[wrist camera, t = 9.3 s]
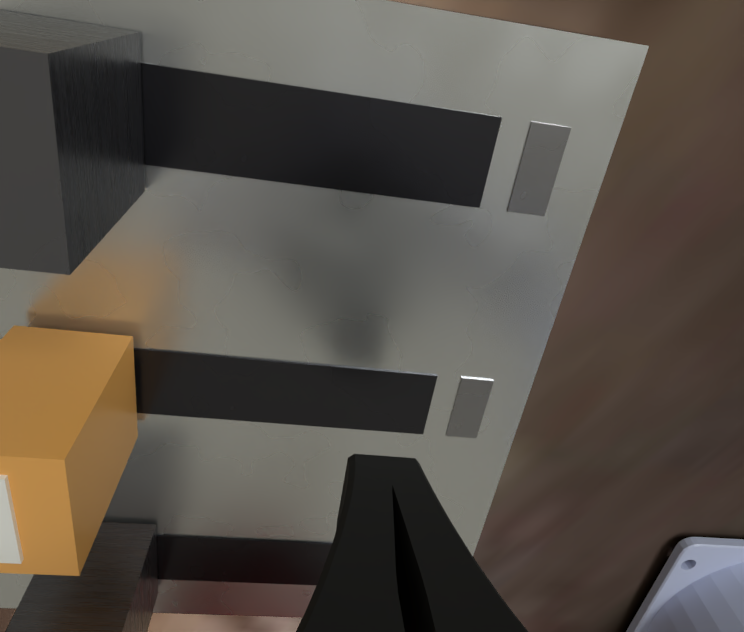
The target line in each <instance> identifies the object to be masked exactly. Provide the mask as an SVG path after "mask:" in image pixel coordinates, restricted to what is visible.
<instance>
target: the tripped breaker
mask: <svg viewBox="0 0 744 632" xmlns="http://www.w3.org/2000/svg"><path fill="white" fill-rule="evenodd" d="M137 438H138V428H137V407H136V387H135V366H134V346H133V336H125V335H114V334H103V333H92V332H81V331H70V330H59V329H48V328H37V327H26V326H15V325H14V326H13V327H12V328H11V329H10V330H9V331H8V332H7V333H6V335H5V336H4V337H3V338H2V339H1V340H0V573H14V574H40V575H66V576H80V573H81V571H82V569H83V566H84V564H85V562H86V559H87V557H88V554H89V552H90V550H91V547H92V545H93V542H94V540H95V538H96V535H97V533H98V531H99V528H100V526H101V523H102V521H103V519H104V516H105V514H106V511H107V509H108V507H109V504H110V502H111V500H112V497H113V495H114V492H115V490H116V488H117V485H118V483H119V480H120V478H121V476H122V473H123V471H124V469H125V466H126V464H127V461H128V459H129V457H130V454H131V452H132V449H133V447H134V445H135V442H136V440H137Z"/></svg>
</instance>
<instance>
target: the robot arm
mask: <svg viewBox="0 0 744 632" xmlns="http://www.w3.org/2000/svg"><path fill="white" fill-rule="evenodd" d="M296 632H528V631H527V630H526V628H525V627H524V626H523V625H522V624H521V622H520V621H519V620H518V619H517V617H516V616H515V615H514V613H513V612H512V611H511V610H510V608H509V607H508V606H507V604H506V603H505V602H504V600H503V599H502V598H501V596H500V595H499V594H498V592H497V591H496V589H495V588H494V587H493V585H492V584H491V582H490V581H489V579H488V578H487V577H486V575H485V574H484V572H483V571H482V569H481V568H480V567H479V565H478V564H477V562H476V561H475V559H474V557H473V556H472V554H471V553H470V551H469V550H468V548H467V547H466V545H465V543H464V542H463V540H462V539H461V537H460V535H459V534H458V532H457V531H456V529H455V527H454V526H453V524H452V522H451V521H450V519H449V517H448V516H447V514H446V512H445V510H444V509H443V507H442V505H441V503H440V502H439V500H438V498H437V496H436V494H435V493H434V491H433V489H432V487H431V485H430V483H429V481H428V479H427V477H426V475H425V474H424V472H423V470H422V468H421V466H420V463H419V462H418V461H417V460H416V459H415V458H406V457H393V456H379V455H365V454H353V455H352V456H350V457H348V460H347V466H346V472H345V477H344V483H343V489H342V495H341V501H340V507H339V512H338V518H337V527H336V533H335V537H334V540H333V543H332V546H331V548H330V551H329V554H328V557H327V559H326V562H325V565H324V567H323V570H322V573H321V576H320V578H319V581H318V583H317V586H316V588H315V590H314V593H313V595H312V598H311V600H310V602H309V605H308V607H307V609H306V611H305V613H304V616H303V618H302V620H301V622H300V624H299V627H298V629H297V631H296ZM626 632H744V539H728V538H709V537H687V538H684V539H682V540H681V541H679V542H678V543H677V545H676V546H675V548H674V550H673V551H672V553H671V555H670V557H669V558H668V560H667V562H666V563H665V565H664V567H663V569H662V570H661V572H660V574H659V576H658V577H657V579H656V581H655V582H654V584H653V586H652V588H651V589H650V591H649V593H648V594H647V596H646V598H645V600H644V601H643V603H642V605H641V607H640V608H639V610H638V612H637V613H636V615H635V617H634V619H633V620H632V622H631V624H630V625H629V627H628V629H627V631H626Z"/></svg>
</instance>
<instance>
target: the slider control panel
mask: <svg viewBox="0 0 744 632" xmlns="http://www.w3.org/2000/svg"><path fill="white" fill-rule="evenodd" d="M648 48H649V46H646V45H640V44H635V43H629V42H624V41H618V40H612V39H607V38H601V37H596V36H590V35H584V34H578V33H573V32H567V31H561V30H555V29H550V28H544V27H538V26H532V25H527V24H521V23H515V22H509V21H504V20H498V19H492V18H486V17H480V16H475V15H469V14H463V13H457V12H452V11H446V10H440V9H434V8H429V7H423V6H417V5H411V4H406V3H400V2H394V1H388V0H0V340H1V339H2V338H3V337H4V336H5V335H6V333H7V332H8V331H9V330H10V329H11V328H12V327H13V326H14V325H15V326H26V327H37V328H48V329H59V330H70V331H81V332H92V333H103V334H114V335H125V336H133V346H134V366H135V387H136V407H137V428H138V438H137V440H136V442H135V445H134V447H133V449H132V452H131V454H130V457H129V459H128V461H127V464H126V466H125V469H124V471H123V473H122V476H121V478H120V480H119V483H118V485H117V488H116V490H115V492H114V495H113V497H112V500H111V502H110V504H109V507H108V509H107V511H106V514H105V516H104V519H103V521H102V523H101V526H100V528H99V531H98V533H97V535H96V538H95V540H94V542H93V545H92V547H91V550H90V552H89V554H88V557H87V559H86V562H85V564H84V566H83V569H82V571H81V573H80V576H66V575H40V574H14V573H0V608H17V609H16V611H15V613H14V615H13V617H12V619H11V621H10V623H9V625H8V627H7V629H6V631H5V632H147V631H148V627H149V624H150V620H151V616H152V613H181V614H213V615H245V616H277V617H303V616H304V613H305V611H306V609H307V607H308V605H309V602H310V600H311V598H312V595H313V593H314V590H315V588H316V586H317V583H318V581H319V578H320V576H321V573H322V570H323V567H324V565H325V562H326V559H327V557H328V554H329V551H330V548H331V546H332V543H333V540H334V537H335V533H336V527H337V518H338V512H339V507H340V501H341V495H342V489H343V483H344V477H345V472H346V466H347V460H348V457H350V456H352V455H353V454H365V455H379V456H393V457H406V458H415V459H416V460H417V461H418V462H419V463H420V466H421V468H422V470H423V472H424V474H425V475H426V477H427V479H428V481H429V483H430V485H431V487H432V489H433V491H434V493H435V494H436V496H437V498H438V500H439V502H440V503H441V505H442V507H443V509H444V510H445V512H446V514H447V516H448V517H449V519H450V521H451V522H452V524H453V526H454V527H455V529H456V531H457V532H458V534H459V535H460V537H461V539H462V540H463V542H464V543H465V545H466V547H467V548H468V550H469V551H470V553H471V554H472V556H473V555H474V552H475V549H476V546H477V543H478V540H479V537H480V534H481V531H482V529H483V526H484V523H485V520H486V517H487V514H488V511H489V508H490V505H491V502H492V500H493V497H494V494H495V491H496V488H497V485H498V482H499V479H500V476H501V473H502V471H503V468H504V465H505V462H506V459H507V456H508V453H509V450H510V447H511V445H512V442H513V439H514V436H515V433H516V430H517V427H518V424H519V421H520V418H521V416H522V413H523V410H524V407H525V404H526V401H527V398H528V395H529V392H530V389H531V387H532V384H533V381H534V378H535V375H536V372H537V369H538V366H539V363H540V361H541V358H542V355H543V352H544V349H545V346H546V343H547V340H548V337H549V334H550V332H551V329H552V326H553V323H554V320H555V317H556V314H557V311H558V308H559V305H560V303H561V300H562V297H563V294H564V291H565V288H566V285H567V282H568V279H569V276H570V274H571V271H572V268H573V265H574V262H575V259H576V256H577V253H578V250H579V248H580V245H581V242H582V239H583V236H584V233H585V230H586V227H587V224H588V221H589V219H590V216H591V213H592V210H593V207H594V204H595V201H596V198H597V195H598V192H599V190H600V187H601V184H602V181H603V178H604V175H605V172H606V169H607V166H608V164H609V161H610V158H611V155H612V152H613V149H614V146H615V143H616V140H617V137H618V135H619V132H620V129H621V126H622V123H623V120H624V117H625V114H626V111H627V108H628V106H629V103H630V100H631V97H632V94H633V91H634V88H635V85H636V82H637V79H638V77H639V74H640V71H641V68H642V65H643V62H644V59H645V56H646V53H647V51H648Z"/></svg>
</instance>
